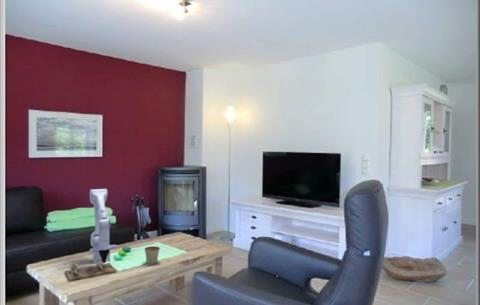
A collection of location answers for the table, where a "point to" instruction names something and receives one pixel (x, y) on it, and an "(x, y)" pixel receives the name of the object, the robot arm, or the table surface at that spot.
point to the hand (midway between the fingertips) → (103, 262)
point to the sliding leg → (99, 264)
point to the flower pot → (152, 254)
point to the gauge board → (88, 271)
